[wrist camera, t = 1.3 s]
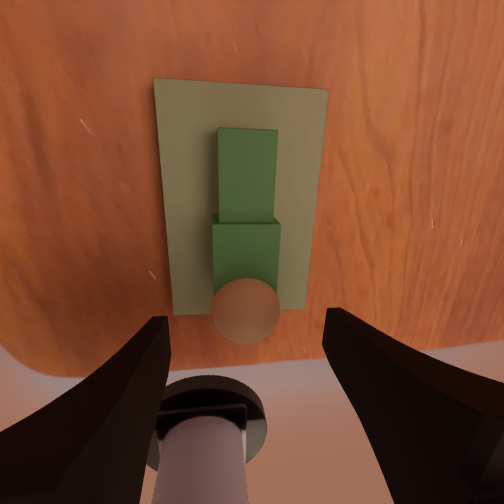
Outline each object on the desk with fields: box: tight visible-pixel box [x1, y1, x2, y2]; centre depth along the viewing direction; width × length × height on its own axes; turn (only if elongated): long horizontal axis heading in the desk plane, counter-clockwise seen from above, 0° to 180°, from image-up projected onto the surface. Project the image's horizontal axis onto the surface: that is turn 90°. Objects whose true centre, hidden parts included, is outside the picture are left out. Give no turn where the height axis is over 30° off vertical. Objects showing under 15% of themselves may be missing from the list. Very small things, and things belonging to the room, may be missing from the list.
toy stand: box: [153, 78, 329, 316], centre depth 14 cm, size 12×8×1 cm, turn 179°
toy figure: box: [210, 127, 281, 344], centre depth 12 cm, size 10×4×4 cm, turn 178°
